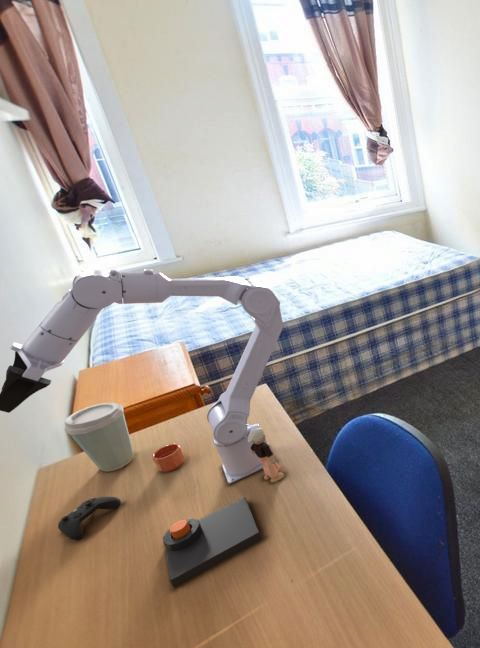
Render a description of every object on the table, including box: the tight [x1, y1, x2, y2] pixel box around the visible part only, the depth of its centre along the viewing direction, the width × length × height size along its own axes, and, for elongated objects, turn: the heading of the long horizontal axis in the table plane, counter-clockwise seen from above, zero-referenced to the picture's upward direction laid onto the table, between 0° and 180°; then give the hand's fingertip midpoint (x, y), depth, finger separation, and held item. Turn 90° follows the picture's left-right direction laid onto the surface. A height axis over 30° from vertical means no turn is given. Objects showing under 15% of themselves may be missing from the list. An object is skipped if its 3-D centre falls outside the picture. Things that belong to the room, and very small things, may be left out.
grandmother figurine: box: [248, 427, 285, 483], centre depth 100 cm, size 8×4×13 cm, turn 71°
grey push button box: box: [162, 496, 263, 589], centre depth 87 cm, size 14×12×4 cm
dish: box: [151, 443, 186, 473], centre depth 109 cm, size 5×5×4 cm
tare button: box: [169, 519, 190, 539], centre depth 86 cm, size 3×3×2 cm
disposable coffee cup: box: [63, 401, 134, 473], centre depth 109 cm, size 11×11×15 cm
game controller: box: [57, 496, 122, 541], centre depth 95 cm, size 10×5×6 cm
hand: (5, 400), depth 78 cm, fingers open, 7 cm apart
